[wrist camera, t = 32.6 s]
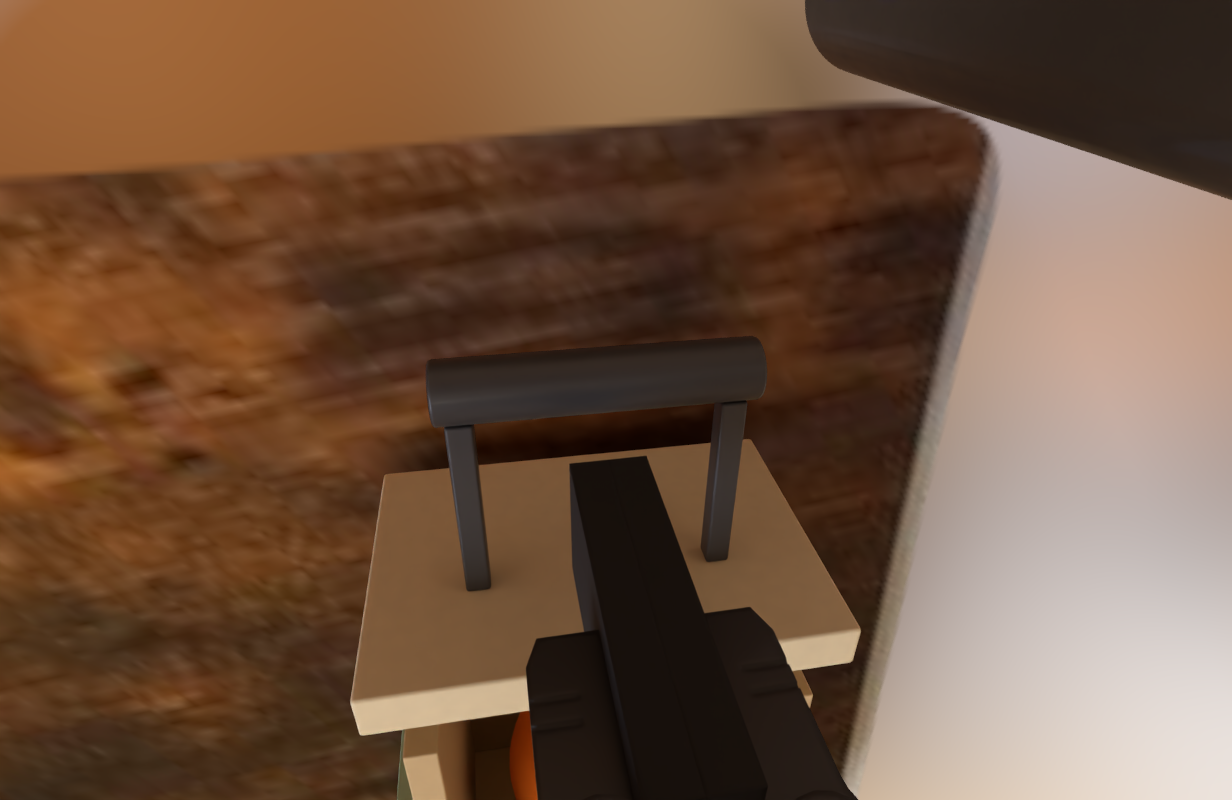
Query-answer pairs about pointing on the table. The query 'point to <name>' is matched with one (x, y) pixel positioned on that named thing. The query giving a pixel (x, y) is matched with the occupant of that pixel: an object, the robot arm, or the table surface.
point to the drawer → (563, 547)
